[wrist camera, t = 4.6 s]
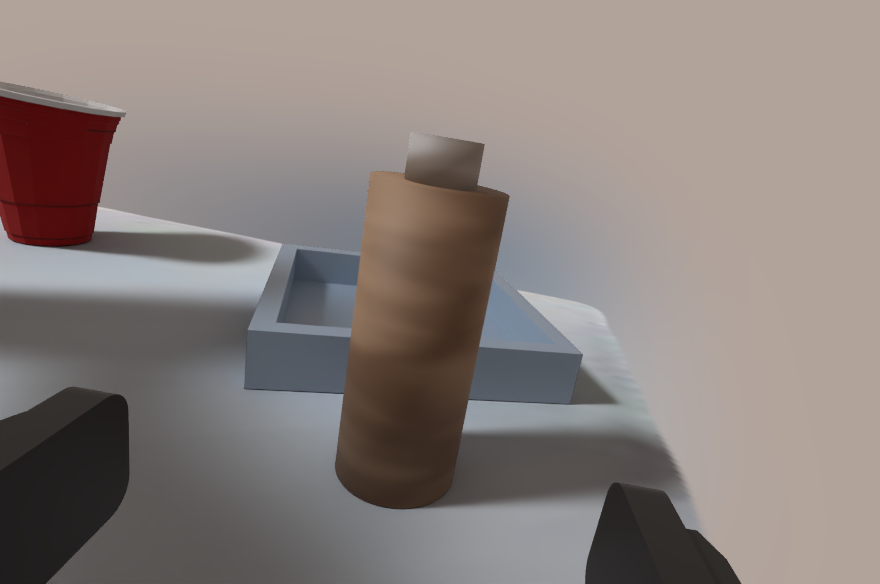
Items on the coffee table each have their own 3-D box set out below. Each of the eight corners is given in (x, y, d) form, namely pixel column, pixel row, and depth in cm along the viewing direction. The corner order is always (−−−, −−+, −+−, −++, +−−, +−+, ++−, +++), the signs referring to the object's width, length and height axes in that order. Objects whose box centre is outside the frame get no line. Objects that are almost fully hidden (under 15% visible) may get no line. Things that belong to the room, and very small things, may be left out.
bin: (244, 388, 26) (247, 329, 25) (279, 280, 42) (282, 243, 41) (569, 404, 30) (583, 354, 29) (485, 300, 47) (492, 266, 46)
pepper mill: (335, 508, 19) (382, 127, 15) (334, 431, 24) (371, 124, 20) (464, 508, 20) (540, 154, 16) (440, 434, 25) (494, 145, 21)
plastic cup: (117, 259, 41) (114, 102, 38) (-59, 250, 37) (-81, 71, 33) (137, 228, 50) (135, 101, 47) (-2, 219, 46) (-14, 77, 43)
